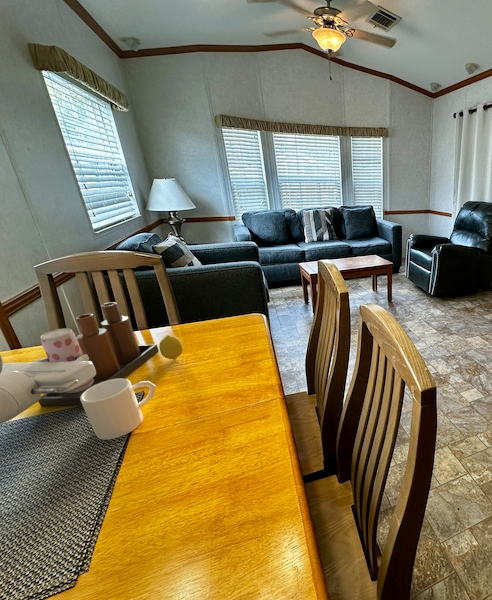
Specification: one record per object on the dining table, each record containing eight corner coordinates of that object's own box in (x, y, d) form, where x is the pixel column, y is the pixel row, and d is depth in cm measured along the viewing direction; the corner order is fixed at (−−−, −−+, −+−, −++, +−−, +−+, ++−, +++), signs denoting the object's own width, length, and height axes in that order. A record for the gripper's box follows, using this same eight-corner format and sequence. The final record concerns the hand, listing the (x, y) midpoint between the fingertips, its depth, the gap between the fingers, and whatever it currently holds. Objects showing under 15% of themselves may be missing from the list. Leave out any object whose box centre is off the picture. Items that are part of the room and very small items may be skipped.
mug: (166, 418, 74) (154, 382, 71) (96, 446, 67) (79, 407, 63) (161, 401, 80) (149, 367, 76) (96, 424, 72) (80, 388, 69)
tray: (90, 406, 78) (86, 397, 77) (41, 407, 78) (36, 398, 77) (158, 351, 102) (156, 344, 101) (121, 352, 101) (118, 345, 100)
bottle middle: (88, 383, 86) (62, 322, 80) (100, 371, 92) (76, 313, 85) (115, 379, 88) (92, 319, 81) (125, 367, 93) (104, 310, 87)
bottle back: (112, 366, 94) (89, 309, 87) (121, 356, 99) (101, 301, 92) (136, 363, 95) (116, 306, 89) (144, 353, 101) (126, 299, 94)
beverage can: (68, 396, 78) (42, 341, 72) (60, 388, 81) (35, 334, 75) (98, 384, 82) (76, 331, 77) (89, 377, 85) (67, 325, 80)
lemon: (189, 356, 99) (183, 333, 96) (171, 366, 94) (163, 341, 91) (178, 352, 101) (171, 329, 98) (159, 361, 96) (151, 337, 93)
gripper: (56, 378, 66) (110, 344, 79) (-51, 381, 65) (21, 346, 78) (68, 404, 68) (118, 367, 81) (-35, 406, 67) (32, 369, 80)
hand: (70, 357), depth 79 cm, fingers closed on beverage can, 5 cm apart
